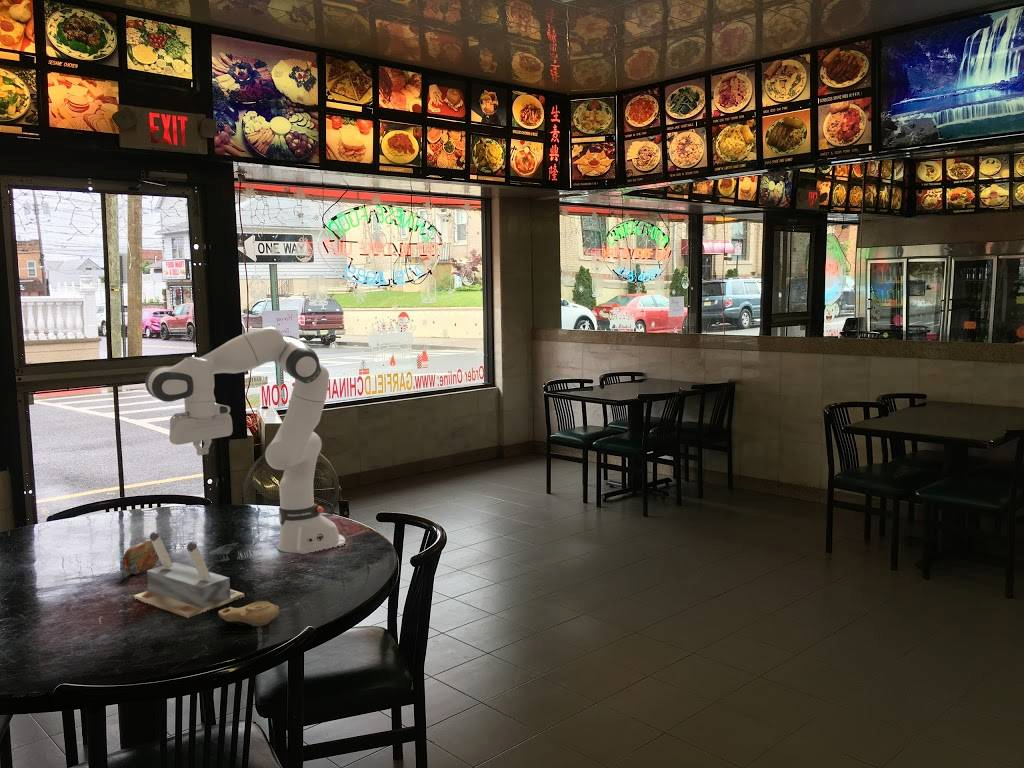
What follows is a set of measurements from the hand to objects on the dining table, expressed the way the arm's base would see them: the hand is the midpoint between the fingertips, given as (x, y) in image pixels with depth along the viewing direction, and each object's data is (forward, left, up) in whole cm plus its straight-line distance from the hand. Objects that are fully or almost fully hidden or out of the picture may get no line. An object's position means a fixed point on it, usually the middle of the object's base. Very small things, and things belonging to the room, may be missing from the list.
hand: (202, 454), depth 255 cm
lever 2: (+3, +29, -30) cm, 42 cm away
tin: (+19, -13, -37) cm, 44 cm away
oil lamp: (-6, +48, -37) cm, 61 cm away
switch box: (+8, +21, -37) cm, 43 cm away
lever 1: (+12, +13, -30) cm, 35 cm away
